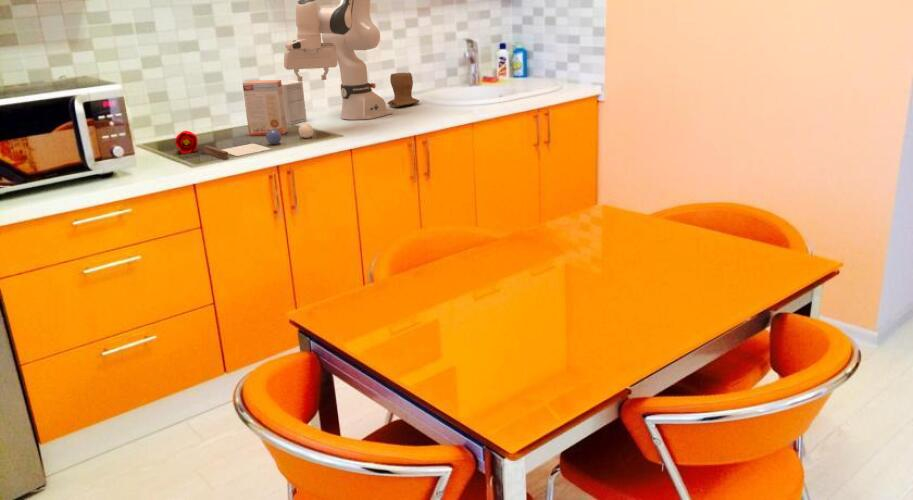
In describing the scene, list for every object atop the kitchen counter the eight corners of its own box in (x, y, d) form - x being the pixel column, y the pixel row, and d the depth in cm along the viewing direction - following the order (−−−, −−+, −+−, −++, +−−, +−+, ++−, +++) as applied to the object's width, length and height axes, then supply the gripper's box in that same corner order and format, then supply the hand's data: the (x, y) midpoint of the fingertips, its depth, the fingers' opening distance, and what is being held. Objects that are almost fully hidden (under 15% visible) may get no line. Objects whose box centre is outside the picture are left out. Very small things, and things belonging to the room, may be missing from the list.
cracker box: (287, 132, 326) (281, 79, 319) (283, 135, 320) (277, 81, 313) (253, 132, 327) (247, 80, 320) (248, 135, 322) (241, 82, 315)
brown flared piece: (405, 101, 381) (403, 69, 376) (423, 104, 373) (421, 71, 368) (381, 106, 371) (378, 73, 366) (398, 109, 363) (396, 75, 358)
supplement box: (295, 118, 352) (290, 79, 346) (307, 121, 345) (303, 81, 340) (276, 122, 345) (271, 82, 340) (288, 125, 339) (283, 84, 333)
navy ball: (277, 141, 309) (275, 127, 307) (284, 143, 305) (283, 129, 303) (264, 144, 306) (262, 129, 304) (271, 146, 302) (270, 131, 300)
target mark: (253, 143, 307) (253, 143, 307) (272, 149, 297) (272, 148, 297) (219, 150, 299) (219, 150, 299) (237, 156, 289) (236, 155, 289)
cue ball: (309, 135, 318) (307, 121, 316) (316, 137, 314) (315, 123, 312) (296, 138, 314) (295, 123, 312) (304, 140, 310) (302, 125, 308)
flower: (200, 133, 304) (200, 137, 296) (194, 153, 305) (194, 157, 298) (179, 126, 301) (178, 130, 293) (173, 146, 302) (172, 150, 295)
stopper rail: (208, 152, 297) (207, 145, 296) (228, 158, 286) (227, 151, 285) (204, 152, 296) (203, 146, 295) (224, 159, 285) (223, 152, 284)
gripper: (333, 42, 316) (335, 78, 320) (281, 44, 308) (284, 81, 312) (338, 42, 311) (340, 79, 315) (285, 45, 302) (288, 82, 306)
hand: (312, 80), depth 313 cm, fingers open, 8 cm apart
